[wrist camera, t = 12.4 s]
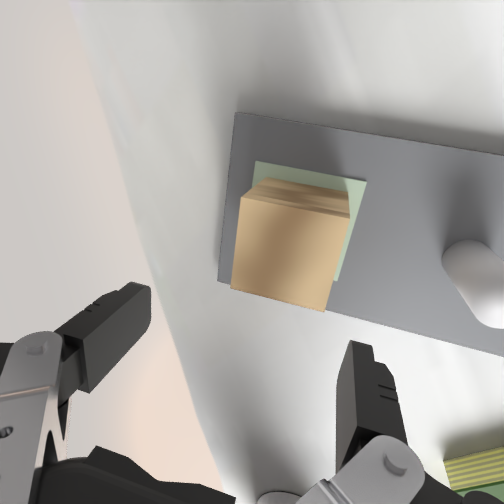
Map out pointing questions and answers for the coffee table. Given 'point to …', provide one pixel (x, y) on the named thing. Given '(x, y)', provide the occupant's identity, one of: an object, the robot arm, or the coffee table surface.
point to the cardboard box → (290, 241)
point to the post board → (391, 224)
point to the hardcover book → (478, 473)
